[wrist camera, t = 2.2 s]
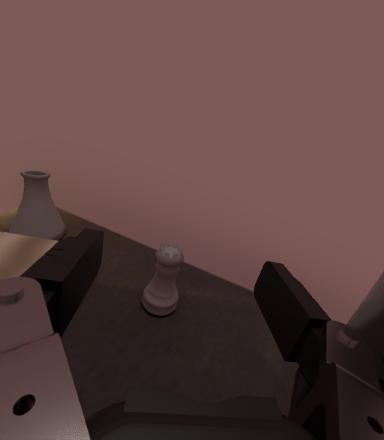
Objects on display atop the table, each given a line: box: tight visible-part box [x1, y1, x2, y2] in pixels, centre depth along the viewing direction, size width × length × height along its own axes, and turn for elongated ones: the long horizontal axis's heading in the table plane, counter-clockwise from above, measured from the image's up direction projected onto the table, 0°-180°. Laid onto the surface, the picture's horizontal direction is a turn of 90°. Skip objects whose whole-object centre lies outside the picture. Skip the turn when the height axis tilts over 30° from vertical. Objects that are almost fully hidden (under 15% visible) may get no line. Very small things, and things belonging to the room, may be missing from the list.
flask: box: [9, 170, 67, 240], centre depth 31 cm, size 7×7×10 cm
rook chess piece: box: [142, 242, 184, 316], centre depth 24 cm, size 4×4×8 cm
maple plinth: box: [0, 232, 58, 280], centre depth 21 cm, size 12×12×4 cm
